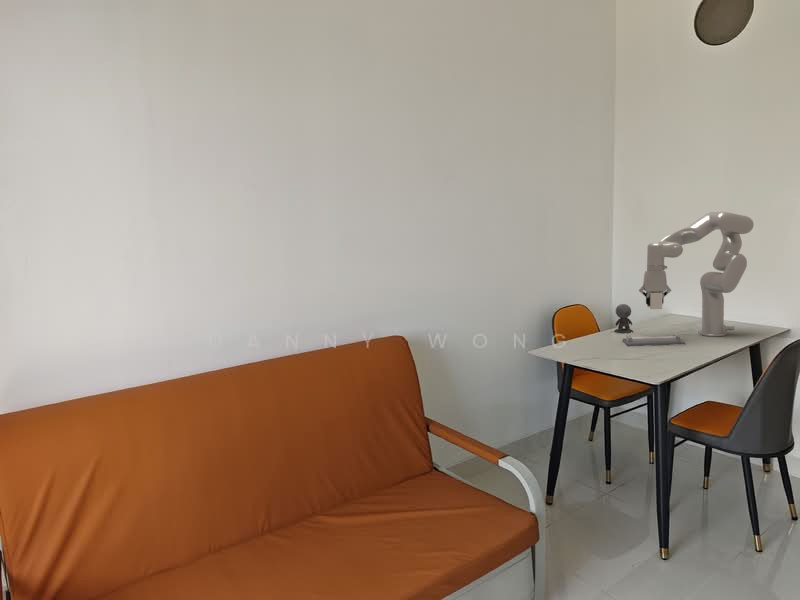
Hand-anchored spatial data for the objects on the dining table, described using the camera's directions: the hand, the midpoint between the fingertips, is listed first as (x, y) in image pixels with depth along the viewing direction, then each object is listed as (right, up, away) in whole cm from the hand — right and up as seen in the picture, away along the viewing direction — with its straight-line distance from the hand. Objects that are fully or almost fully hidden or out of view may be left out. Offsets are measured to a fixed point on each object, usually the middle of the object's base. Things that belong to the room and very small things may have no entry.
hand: (654, 305), depth 271 cm
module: (0, -1, 0) cm, 1 cm away
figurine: (-4, -15, +27) cm, 31 cm away
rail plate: (-1, -19, 0) cm, 19 cm away
